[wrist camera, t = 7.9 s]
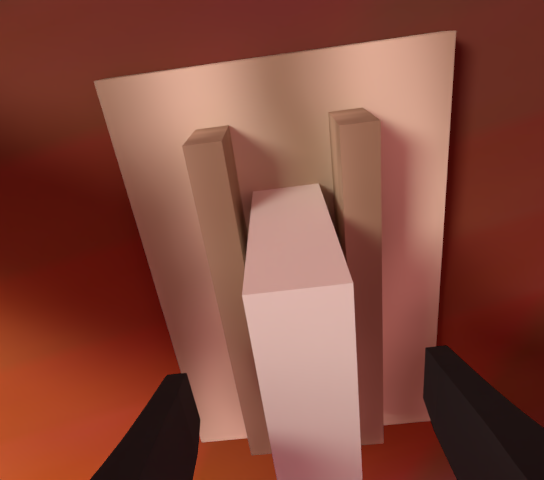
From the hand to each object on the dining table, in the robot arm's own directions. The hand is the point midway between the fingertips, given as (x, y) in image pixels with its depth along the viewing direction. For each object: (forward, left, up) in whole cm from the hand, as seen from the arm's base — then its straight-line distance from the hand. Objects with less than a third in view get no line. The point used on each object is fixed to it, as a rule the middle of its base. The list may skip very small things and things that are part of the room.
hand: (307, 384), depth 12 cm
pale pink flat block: (0, 0, -6) cm, 6 cm away
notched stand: (0, 0, -7) cm, 7 cm away
